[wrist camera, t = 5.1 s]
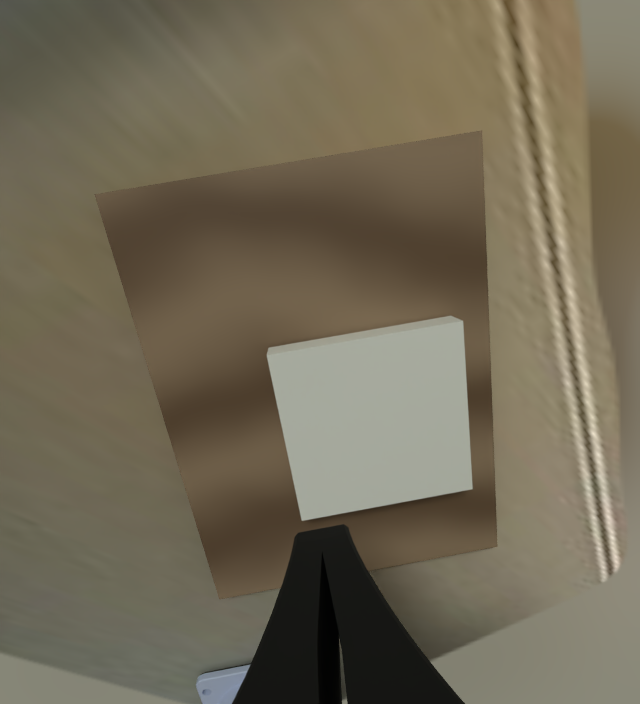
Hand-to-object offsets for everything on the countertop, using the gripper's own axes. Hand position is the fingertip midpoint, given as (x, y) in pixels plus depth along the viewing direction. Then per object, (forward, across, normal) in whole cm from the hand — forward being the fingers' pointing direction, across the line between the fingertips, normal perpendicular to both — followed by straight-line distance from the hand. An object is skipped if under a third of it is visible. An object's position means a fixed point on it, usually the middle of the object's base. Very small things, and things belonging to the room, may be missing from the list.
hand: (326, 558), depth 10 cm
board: (+9, -1, -1) cm, 9 cm away
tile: (+7, +1, 0) cm, 7 cm away
